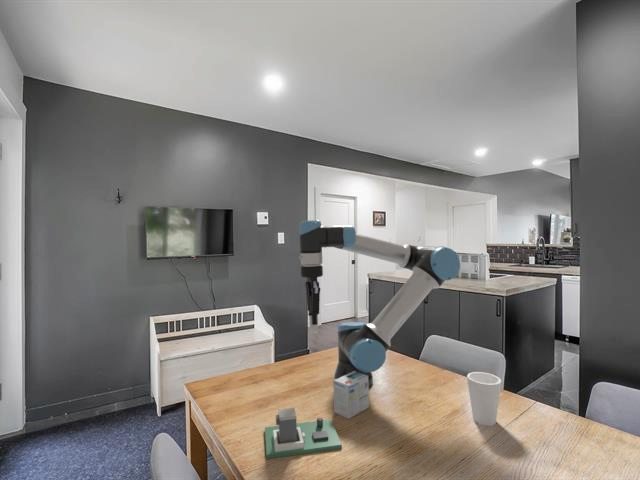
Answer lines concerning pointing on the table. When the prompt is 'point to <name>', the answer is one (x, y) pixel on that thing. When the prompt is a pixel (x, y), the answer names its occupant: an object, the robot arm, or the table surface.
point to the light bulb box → (351, 394)
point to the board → (303, 439)
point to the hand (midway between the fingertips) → (314, 333)
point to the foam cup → (484, 396)
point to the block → (287, 425)
